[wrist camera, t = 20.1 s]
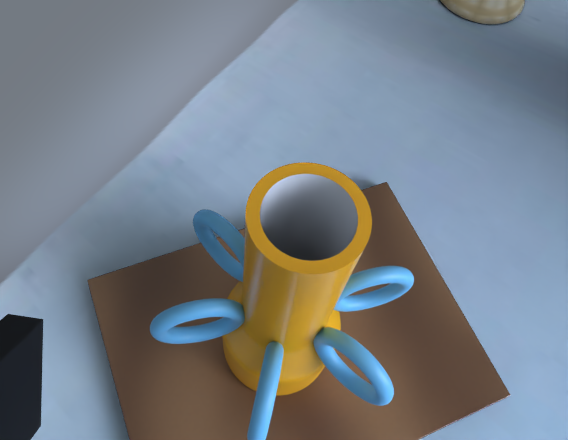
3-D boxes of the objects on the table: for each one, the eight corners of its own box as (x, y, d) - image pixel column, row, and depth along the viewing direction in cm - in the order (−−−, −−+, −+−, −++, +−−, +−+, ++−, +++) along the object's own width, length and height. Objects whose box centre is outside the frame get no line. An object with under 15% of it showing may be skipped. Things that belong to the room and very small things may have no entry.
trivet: (383, 189, 36) (386, 181, 36) (502, 398, 30) (511, 395, 29) (91, 285, 31) (87, 279, 31) (164, 559, 25) (161, 562, 24)
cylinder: (132, 331, 29) (48, 192, 16) (263, 217, 33) (282, 33, 20) (290, 503, 26) (347, 505, 13) (415, 354, 30) (555, 238, 17)
